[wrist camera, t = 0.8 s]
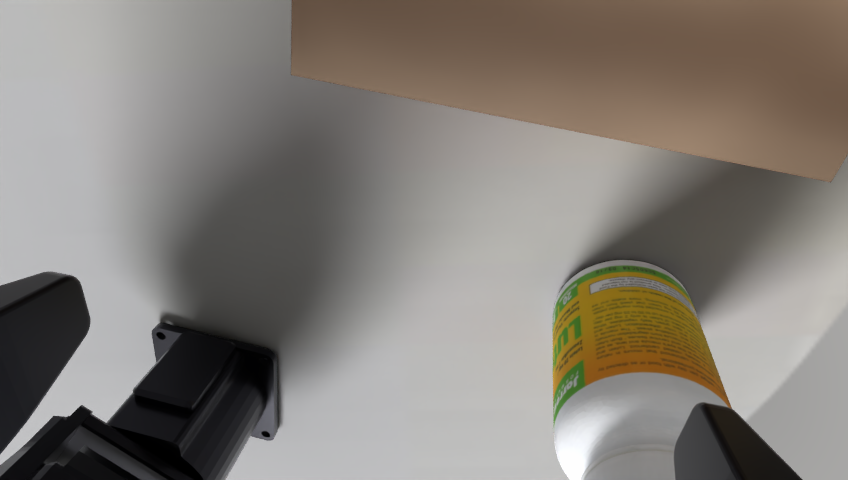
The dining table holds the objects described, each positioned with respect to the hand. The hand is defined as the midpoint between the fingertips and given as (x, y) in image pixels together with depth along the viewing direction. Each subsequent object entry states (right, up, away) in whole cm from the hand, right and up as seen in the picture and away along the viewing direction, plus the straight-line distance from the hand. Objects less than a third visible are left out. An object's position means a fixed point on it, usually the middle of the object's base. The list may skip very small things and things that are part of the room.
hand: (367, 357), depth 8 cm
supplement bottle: (+9, -1, +15) cm, 17 cm away
